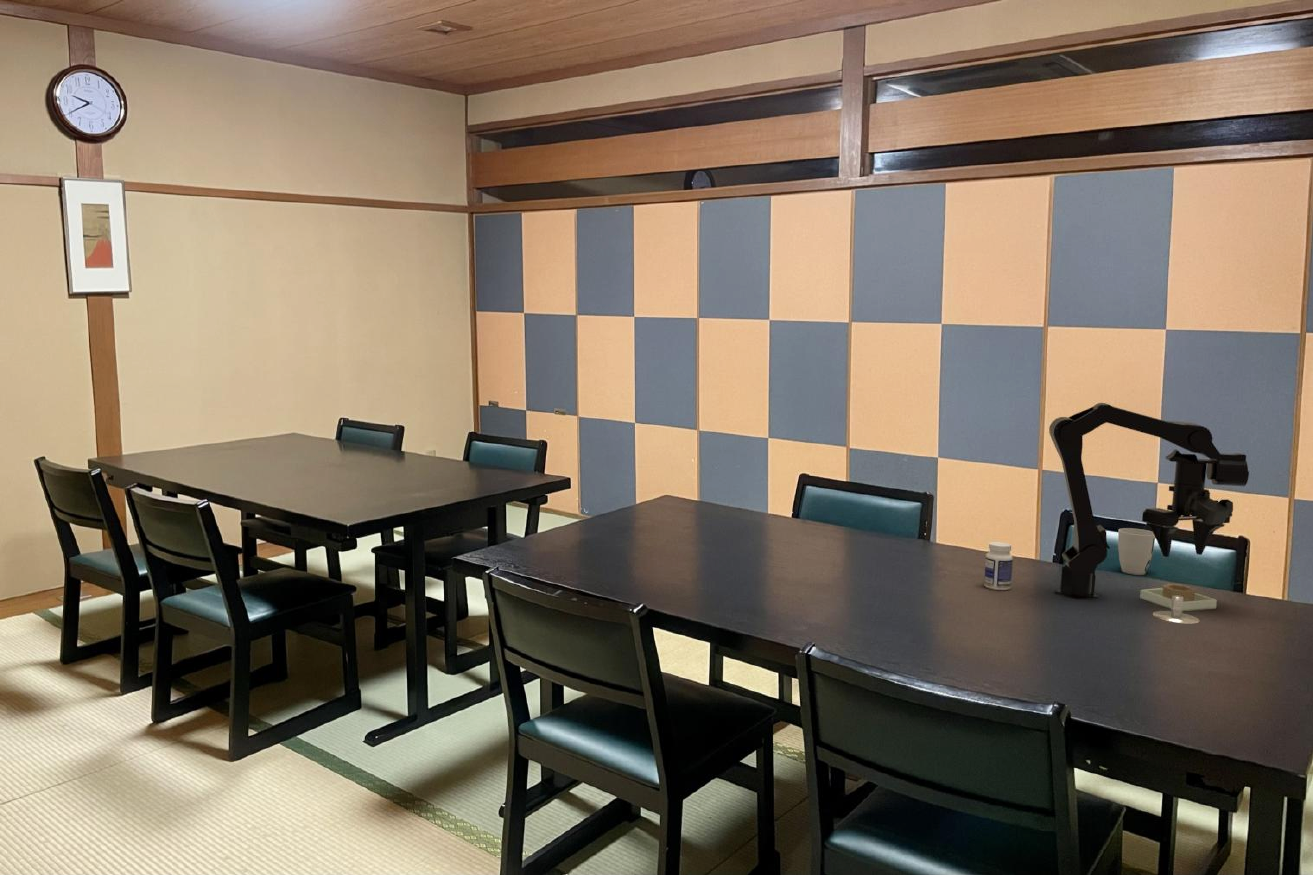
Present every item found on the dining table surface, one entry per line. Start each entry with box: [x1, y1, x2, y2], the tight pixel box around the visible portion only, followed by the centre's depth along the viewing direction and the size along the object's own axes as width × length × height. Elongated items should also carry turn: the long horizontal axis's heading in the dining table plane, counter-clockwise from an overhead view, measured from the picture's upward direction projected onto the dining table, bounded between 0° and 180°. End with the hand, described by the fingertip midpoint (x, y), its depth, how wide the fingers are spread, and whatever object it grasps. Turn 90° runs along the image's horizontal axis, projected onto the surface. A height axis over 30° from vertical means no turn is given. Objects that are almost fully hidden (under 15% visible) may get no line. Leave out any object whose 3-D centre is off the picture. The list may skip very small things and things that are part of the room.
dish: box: [1139, 587, 1218, 612], centre depth 210 cm, size 10×10×2 cm
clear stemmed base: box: [1152, 596, 1200, 625], centre depth 200 cm, size 8×8×5 cm
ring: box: [1162, 583, 1196, 602], centre depth 210 cm, size 6×6×3 cm
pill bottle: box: [983, 541, 1014, 591], centre depth 220 cm, size 6×6×10 cm
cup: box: [1117, 527, 1156, 576], centre depth 238 cm, size 8×8×10 cm
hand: (1182, 555), depth 209 cm, fingers open, 9 cm apart
